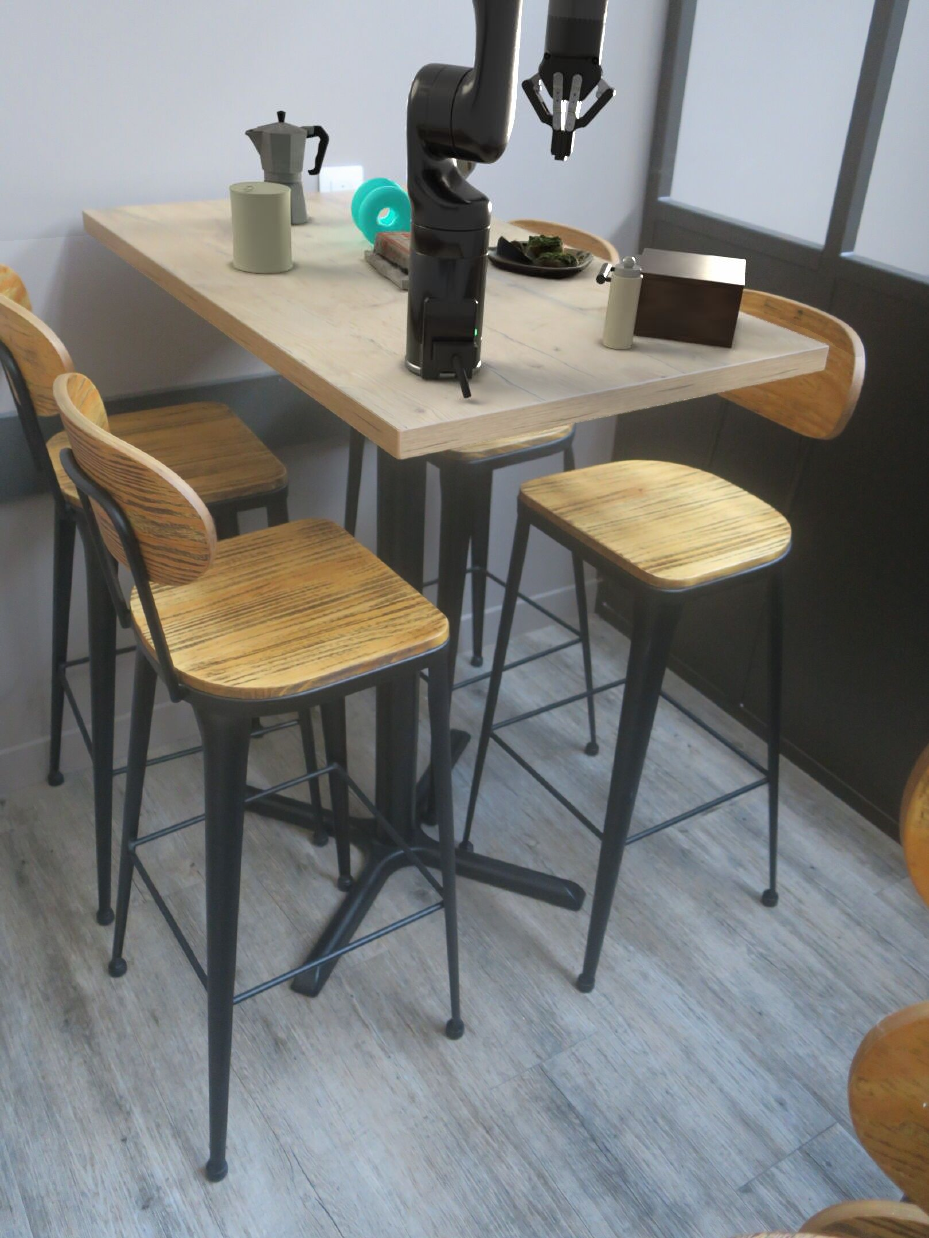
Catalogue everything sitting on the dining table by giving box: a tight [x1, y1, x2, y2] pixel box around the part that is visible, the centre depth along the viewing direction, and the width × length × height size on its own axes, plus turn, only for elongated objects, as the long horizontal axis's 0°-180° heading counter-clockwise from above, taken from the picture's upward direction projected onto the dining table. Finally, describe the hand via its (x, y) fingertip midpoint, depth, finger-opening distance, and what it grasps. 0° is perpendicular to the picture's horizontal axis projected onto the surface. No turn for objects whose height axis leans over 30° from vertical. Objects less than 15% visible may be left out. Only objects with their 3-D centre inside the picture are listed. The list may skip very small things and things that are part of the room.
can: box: [228, 181, 294, 274], centre depth 160 cm, size 9×9×12 cm
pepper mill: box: [601, 255, 642, 350], centre depth 139 cm, size 4×4×12 cm
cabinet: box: [633, 247, 746, 349], centre depth 149 cm, size 15×15×9 cm
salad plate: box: [488, 233, 595, 279], centre depth 175 cm, size 19×18×5 cm
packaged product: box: [363, 231, 410, 290], centre depth 164 cm, size 18×5×10 cm
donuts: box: [350, 177, 411, 246], centre depth 178 cm, size 10×10×10 cm
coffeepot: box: [244, 110, 330, 226], centre depth 187 cm, size 15×9×18 cm, turn 118°
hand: (560, 159), depth 143 cm, fingers closed
